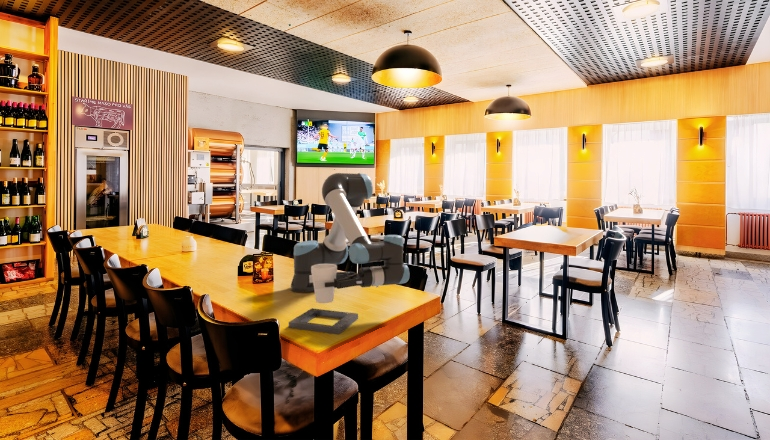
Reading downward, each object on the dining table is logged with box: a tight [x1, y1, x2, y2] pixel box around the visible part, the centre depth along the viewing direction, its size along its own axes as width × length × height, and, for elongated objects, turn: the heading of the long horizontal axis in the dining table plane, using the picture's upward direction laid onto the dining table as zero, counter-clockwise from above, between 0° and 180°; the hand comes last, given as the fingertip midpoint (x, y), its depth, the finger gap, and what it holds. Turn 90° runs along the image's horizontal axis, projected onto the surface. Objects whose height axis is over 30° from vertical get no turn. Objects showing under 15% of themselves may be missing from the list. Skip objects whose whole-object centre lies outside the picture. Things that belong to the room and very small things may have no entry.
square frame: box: [288, 308, 359, 335], centre depth 148 cm, size 20×17×2 cm
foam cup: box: [311, 264, 338, 304], centre depth 147 cm, size 10×9×13 cm
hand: (312, 281), depth 145 cm, fingers closed on foam cup, 9 cm apart
